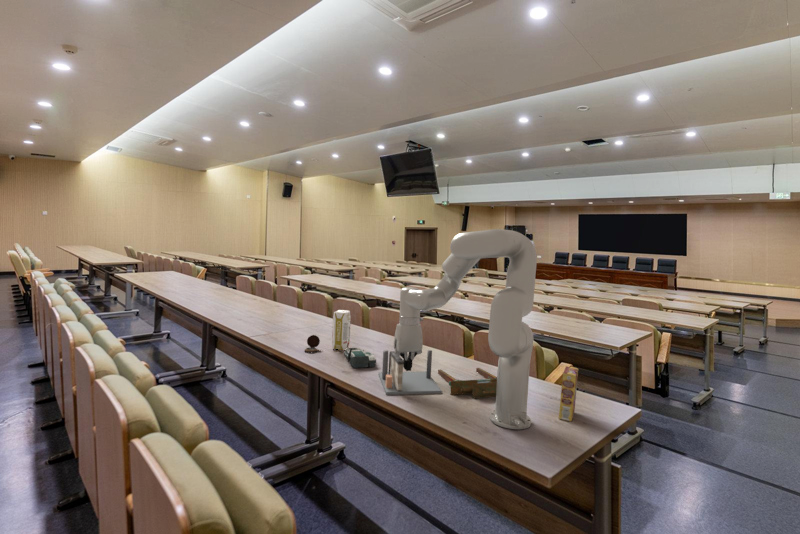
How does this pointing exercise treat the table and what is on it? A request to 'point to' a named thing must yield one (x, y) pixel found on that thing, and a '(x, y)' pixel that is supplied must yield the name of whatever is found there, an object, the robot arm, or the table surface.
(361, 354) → the communication device
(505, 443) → the table surface
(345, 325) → the juice carton
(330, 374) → the table surface
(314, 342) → the compass
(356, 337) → the table surface
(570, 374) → the candy box
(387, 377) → the gray panel stand
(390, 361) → the gate
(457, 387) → the miniature gate
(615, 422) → the table surface
